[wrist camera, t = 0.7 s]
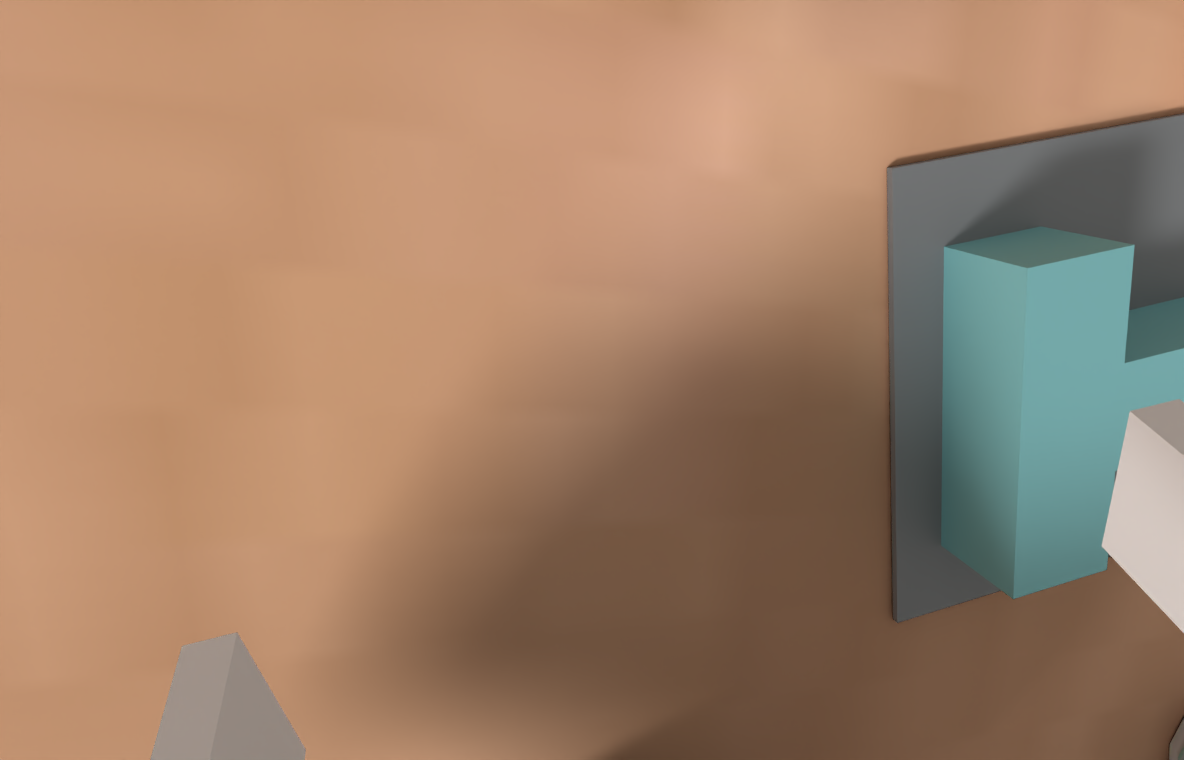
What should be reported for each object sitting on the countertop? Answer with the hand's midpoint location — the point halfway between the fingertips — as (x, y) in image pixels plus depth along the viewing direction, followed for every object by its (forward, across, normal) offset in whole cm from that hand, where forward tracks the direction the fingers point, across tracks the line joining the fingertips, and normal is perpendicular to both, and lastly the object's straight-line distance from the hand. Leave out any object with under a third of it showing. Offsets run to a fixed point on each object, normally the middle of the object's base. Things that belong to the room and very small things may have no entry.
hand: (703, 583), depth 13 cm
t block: (+16, -18, +12) cm, 27 cm away
